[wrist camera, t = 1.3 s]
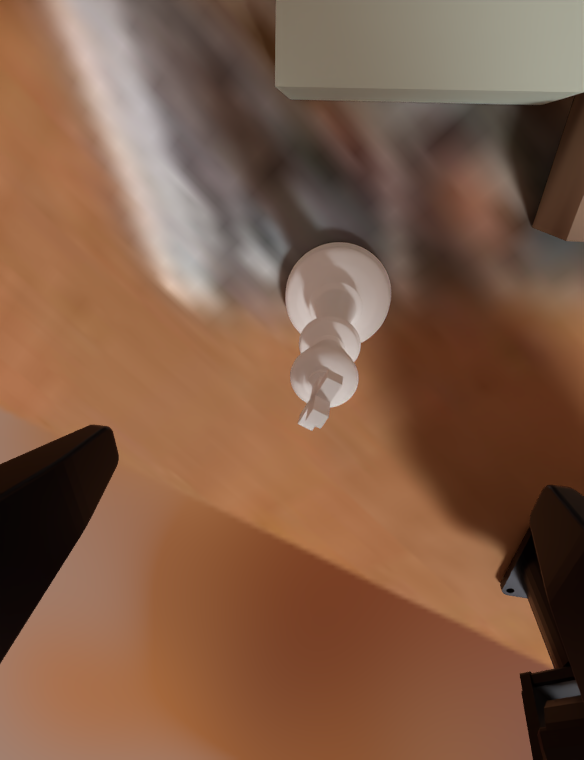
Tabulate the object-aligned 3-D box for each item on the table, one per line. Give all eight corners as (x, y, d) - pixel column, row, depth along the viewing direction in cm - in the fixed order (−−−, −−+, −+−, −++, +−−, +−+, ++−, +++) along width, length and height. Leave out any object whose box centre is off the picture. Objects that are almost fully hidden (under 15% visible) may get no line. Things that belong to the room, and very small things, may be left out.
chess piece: (412, 274, 17) (466, 389, 8) (356, 360, 20) (353, 516, 11) (315, 221, 17) (266, 285, 8) (269, 316, 19) (196, 443, 11)
